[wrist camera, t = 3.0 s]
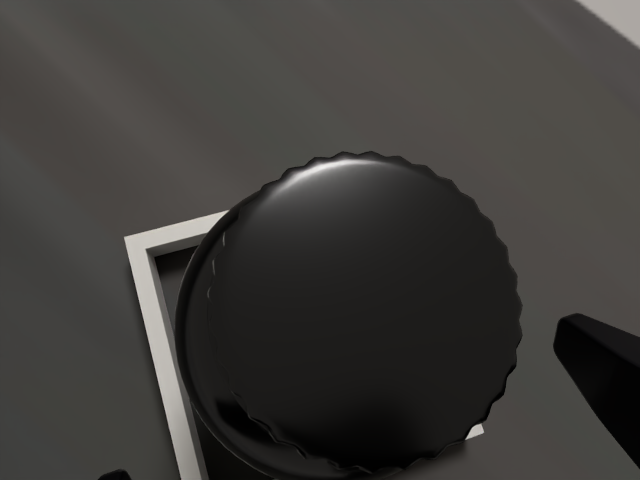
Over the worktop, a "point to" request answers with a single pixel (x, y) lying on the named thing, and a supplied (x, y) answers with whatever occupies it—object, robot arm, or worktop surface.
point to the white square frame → (162, 337)
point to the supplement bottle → (347, 320)
